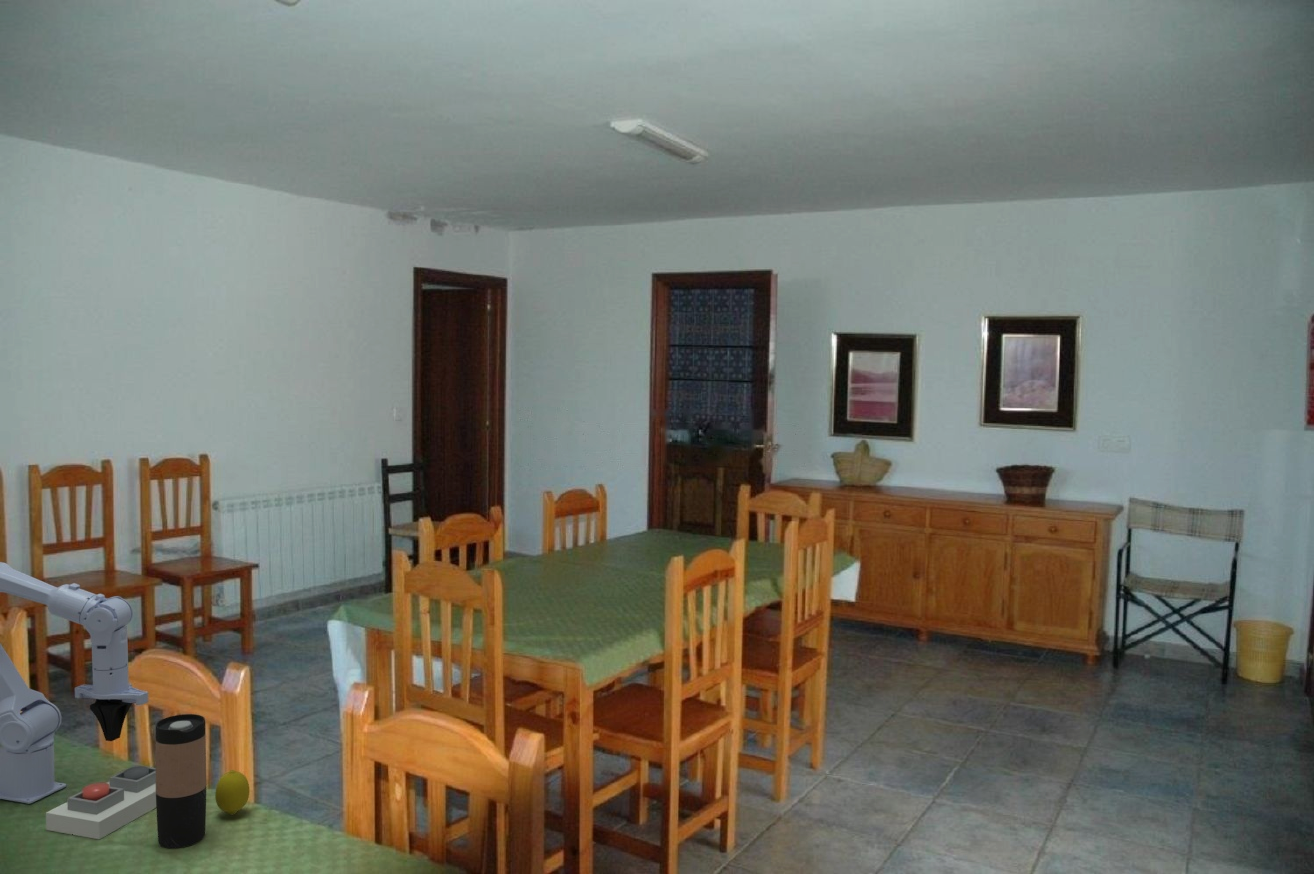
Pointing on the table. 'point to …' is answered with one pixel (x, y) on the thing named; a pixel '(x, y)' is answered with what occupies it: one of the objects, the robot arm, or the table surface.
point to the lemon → (232, 792)
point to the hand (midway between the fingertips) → (112, 738)
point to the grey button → (136, 772)
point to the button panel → (105, 807)
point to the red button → (95, 791)
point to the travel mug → (181, 780)
